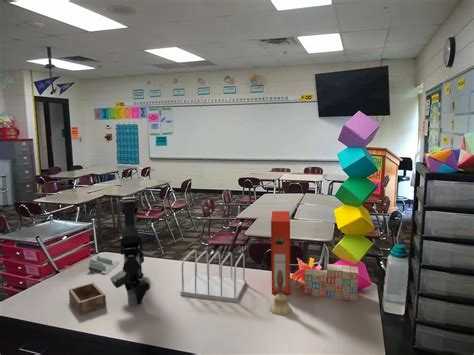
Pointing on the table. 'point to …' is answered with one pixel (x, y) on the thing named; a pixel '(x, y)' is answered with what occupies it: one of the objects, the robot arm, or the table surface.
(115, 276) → the robot arm
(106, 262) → the metal bracket
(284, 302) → the hand bell
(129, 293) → the dice cube
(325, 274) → the stack of blocks
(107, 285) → the table surface
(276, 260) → the file binder
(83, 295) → the open wooden box
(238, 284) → the file sorter
